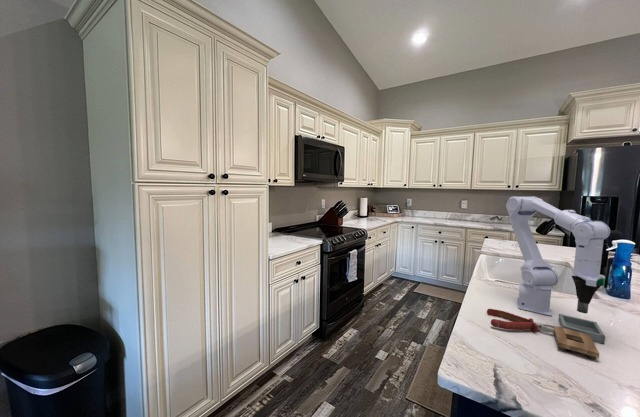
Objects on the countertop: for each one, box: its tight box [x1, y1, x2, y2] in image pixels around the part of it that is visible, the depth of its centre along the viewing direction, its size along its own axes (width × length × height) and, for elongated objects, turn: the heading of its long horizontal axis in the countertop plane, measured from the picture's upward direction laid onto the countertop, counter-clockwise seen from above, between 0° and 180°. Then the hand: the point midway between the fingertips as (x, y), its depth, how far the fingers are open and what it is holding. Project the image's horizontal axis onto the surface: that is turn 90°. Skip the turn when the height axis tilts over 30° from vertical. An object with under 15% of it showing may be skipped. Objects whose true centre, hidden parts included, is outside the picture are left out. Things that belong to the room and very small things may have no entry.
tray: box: [557, 313, 606, 345], centre depth 83 cm, size 9×10×2 cm
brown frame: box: [553, 325, 600, 360], centre depth 75 cm, size 8×11×2 cm
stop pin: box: [576, 297, 590, 314], centre depth 82 cm, size 3×3×8 cm
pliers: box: [486, 308, 555, 334], centre depth 84 cm, size 12×20×3 cm, turn 63°
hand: (583, 301), depth 82 cm, fingers closed on stop pin, 2 cm apart
